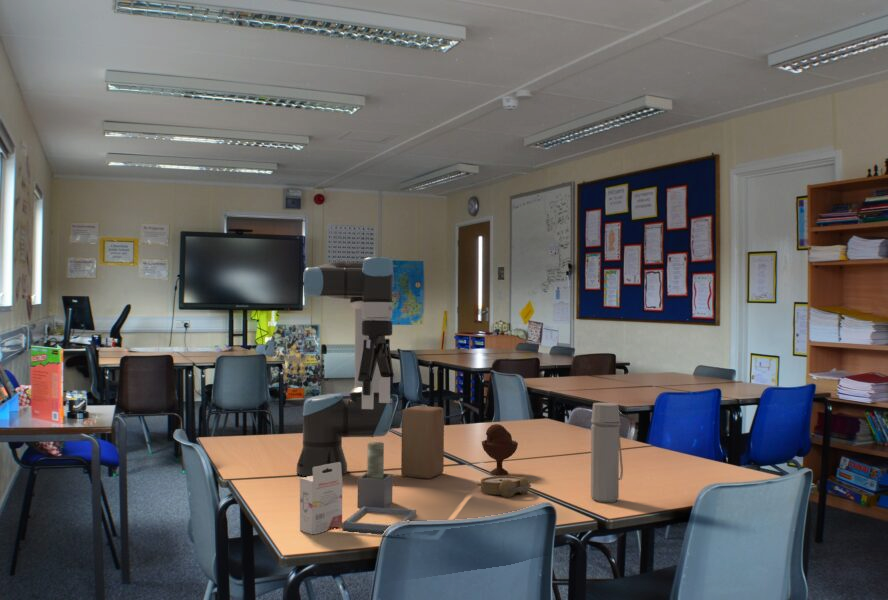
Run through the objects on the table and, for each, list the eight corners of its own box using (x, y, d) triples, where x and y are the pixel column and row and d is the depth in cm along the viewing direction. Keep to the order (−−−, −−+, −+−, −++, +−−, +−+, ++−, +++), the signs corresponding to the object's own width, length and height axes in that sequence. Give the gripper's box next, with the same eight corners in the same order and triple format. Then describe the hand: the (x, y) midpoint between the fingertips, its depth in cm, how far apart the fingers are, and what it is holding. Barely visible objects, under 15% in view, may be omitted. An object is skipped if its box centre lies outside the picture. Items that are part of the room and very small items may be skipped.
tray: (342, 531, 162) (342, 522, 162) (363, 514, 175) (363, 506, 175) (399, 536, 159) (399, 526, 159) (416, 518, 173) (416, 510, 173)
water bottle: (601, 504, 187) (602, 406, 187) (584, 497, 194) (584, 402, 195) (631, 501, 191) (631, 404, 191) (612, 494, 198) (613, 401, 198)
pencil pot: (357, 511, 178) (357, 478, 179) (366, 504, 185) (366, 472, 185) (384, 513, 177) (384, 479, 177) (392, 506, 184) (392, 473, 184)
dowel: (364, 506, 180) (365, 444, 180) (369, 502, 183) (370, 441, 184) (380, 507, 179) (380, 445, 179) (385, 503, 183) (385, 442, 183)
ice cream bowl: (515, 478, 216) (516, 427, 217) (478, 476, 219) (479, 425, 219) (519, 470, 227) (519, 422, 227) (483, 468, 229) (484, 420, 229)
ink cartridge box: (328, 522, 168) (329, 458, 169) (342, 527, 165) (343, 461, 165) (298, 530, 162) (299, 463, 162) (312, 535, 159) (313, 467, 159)
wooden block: (444, 473, 222) (445, 407, 222) (430, 480, 213) (430, 410, 213) (415, 470, 226) (415, 405, 227) (399, 476, 217) (400, 408, 218)
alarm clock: (500, 474, 209) (539, 474, 197) (502, 492, 208) (541, 493, 197) (471, 480, 201) (509, 479, 190) (473, 498, 201) (511, 499, 189)
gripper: (376, 319, 169) (375, 412, 168) (405, 319, 193) (404, 400, 193) (345, 319, 171) (344, 411, 170) (378, 319, 195) (377, 400, 194)
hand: (376, 405), depth 181 cm, fingers open, 13 cm apart
